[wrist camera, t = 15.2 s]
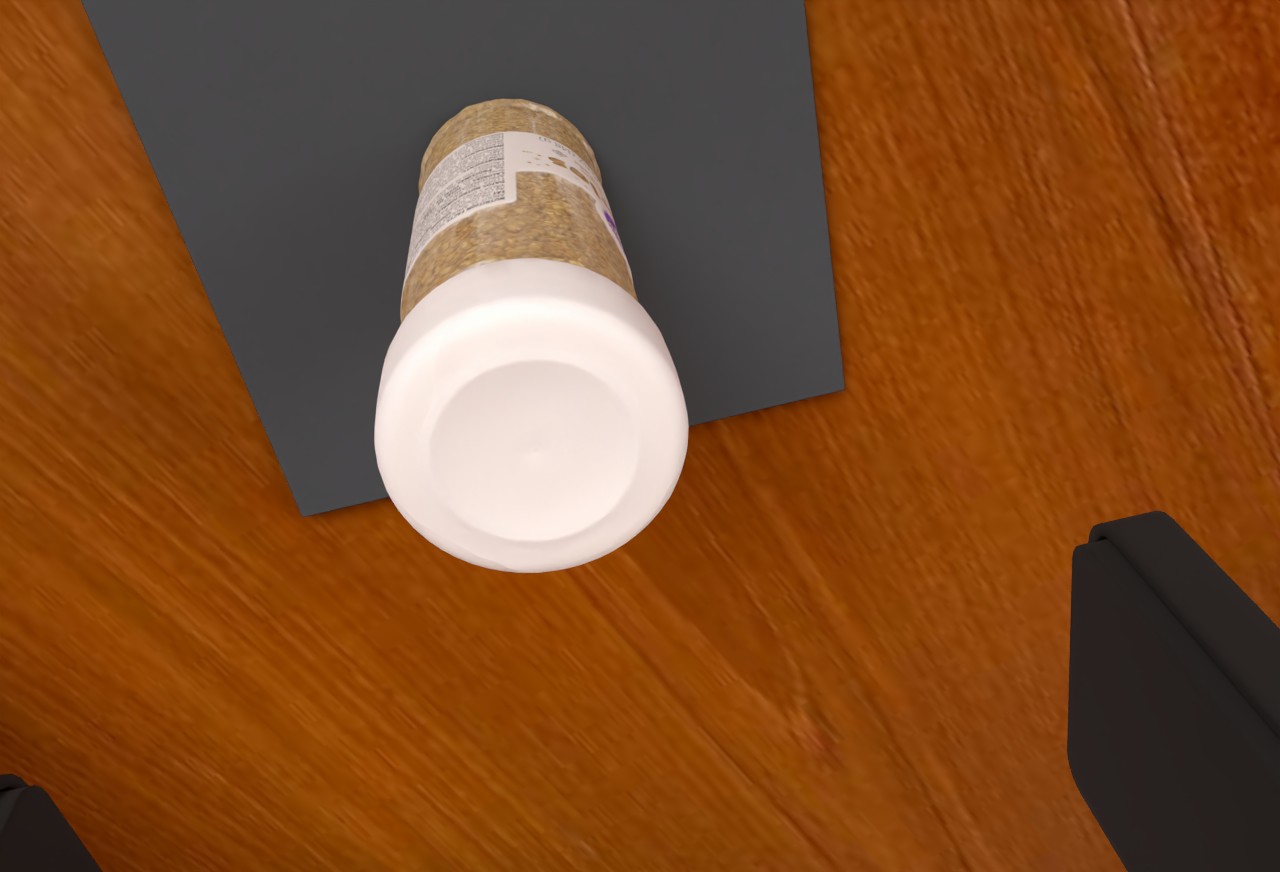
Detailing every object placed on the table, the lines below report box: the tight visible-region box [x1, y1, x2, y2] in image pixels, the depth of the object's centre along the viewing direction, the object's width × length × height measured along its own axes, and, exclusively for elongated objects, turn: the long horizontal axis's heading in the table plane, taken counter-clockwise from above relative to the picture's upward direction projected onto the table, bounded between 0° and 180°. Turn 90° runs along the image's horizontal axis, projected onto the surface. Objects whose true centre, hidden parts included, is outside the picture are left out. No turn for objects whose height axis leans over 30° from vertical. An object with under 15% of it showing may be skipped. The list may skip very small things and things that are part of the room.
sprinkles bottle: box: [374, 99, 689, 573], centre depth 21 cm, size 5×5×13 cm
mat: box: [81, 0, 845, 517], centre depth 27 cm, size 16×16×1 cm
